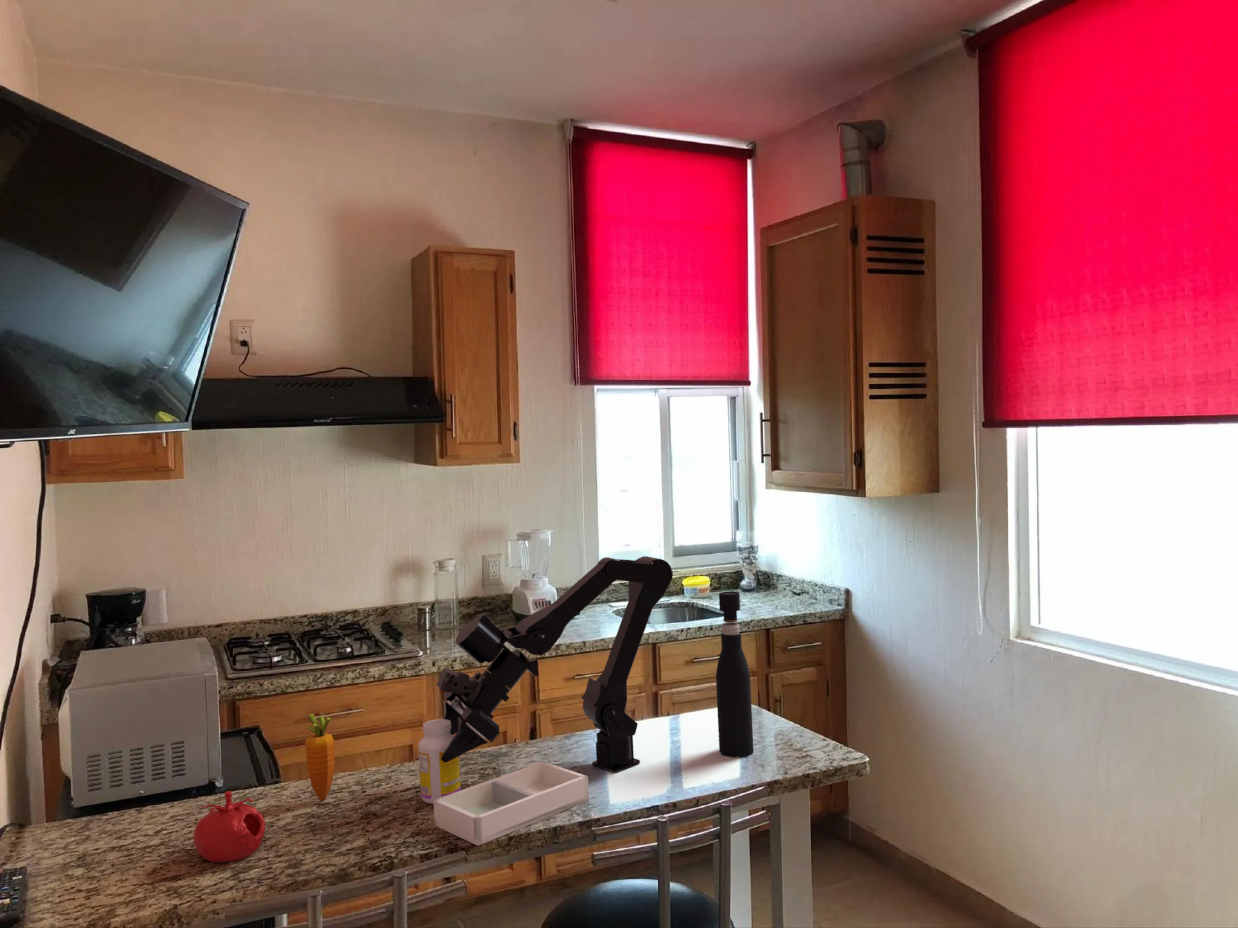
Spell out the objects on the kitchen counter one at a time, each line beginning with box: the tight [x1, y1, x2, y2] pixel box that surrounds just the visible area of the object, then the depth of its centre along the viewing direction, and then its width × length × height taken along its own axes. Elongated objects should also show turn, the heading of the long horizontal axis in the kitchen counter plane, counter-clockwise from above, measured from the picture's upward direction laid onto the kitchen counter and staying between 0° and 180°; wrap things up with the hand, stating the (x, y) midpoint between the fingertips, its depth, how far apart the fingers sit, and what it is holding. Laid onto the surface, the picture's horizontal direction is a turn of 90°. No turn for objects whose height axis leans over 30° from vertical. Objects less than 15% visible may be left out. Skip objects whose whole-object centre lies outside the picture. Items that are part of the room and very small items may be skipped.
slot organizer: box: [433, 761, 590, 847], centre depth 146 cm, size 22×12×4 cm, turn 134°
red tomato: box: [192, 790, 266, 864], centre depth 136 cm, size 10×10×9 cm
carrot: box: [304, 713, 336, 802], centre depth 155 cm, size 5×5×15 cm
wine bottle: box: [715, 591, 754, 758], centre depth 171 cm, size 6×6×30 cm
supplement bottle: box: [417, 718, 462, 805], centre depth 154 cm, size 7×7×13 cm
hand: (437, 752), depth 154 cm, fingers open, 9 cm apart
